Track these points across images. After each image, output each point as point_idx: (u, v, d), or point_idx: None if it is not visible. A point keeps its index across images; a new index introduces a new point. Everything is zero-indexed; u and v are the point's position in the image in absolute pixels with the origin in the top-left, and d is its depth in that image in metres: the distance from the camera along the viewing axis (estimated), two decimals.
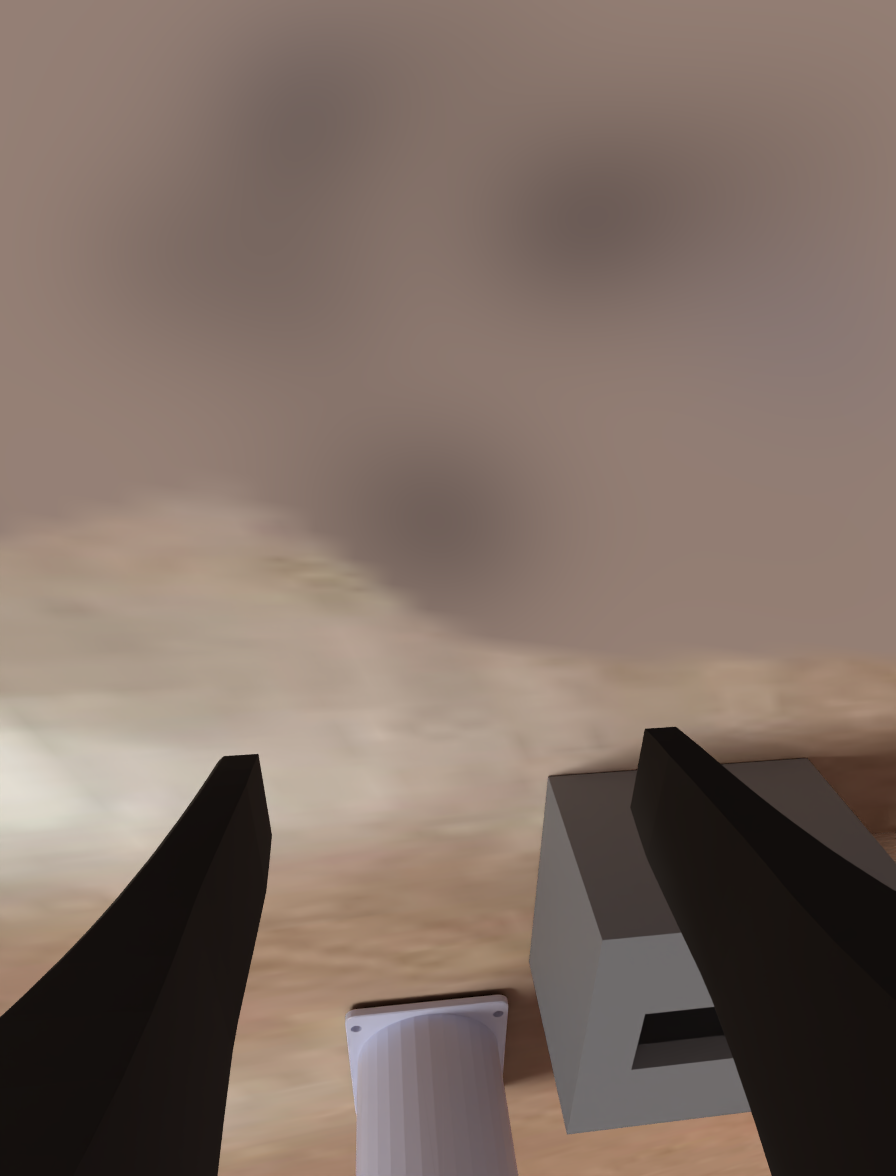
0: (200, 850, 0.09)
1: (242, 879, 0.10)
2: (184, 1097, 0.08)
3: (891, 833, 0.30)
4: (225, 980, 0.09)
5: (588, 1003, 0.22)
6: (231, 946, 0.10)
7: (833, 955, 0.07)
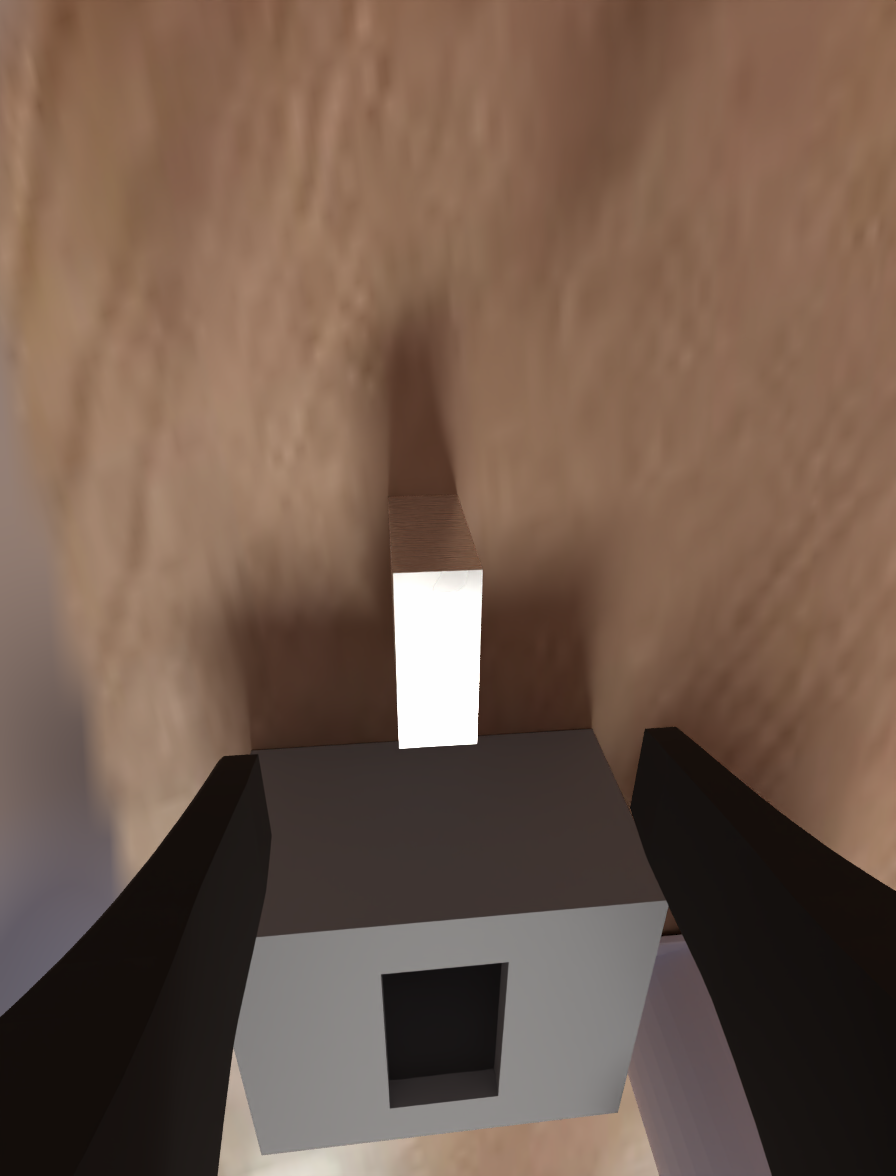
0: (200, 850, 0.09)
1: (242, 879, 0.10)
2: (184, 1097, 0.08)
3: None
4: (225, 980, 0.09)
5: None
6: (231, 946, 0.10)
7: (833, 955, 0.07)
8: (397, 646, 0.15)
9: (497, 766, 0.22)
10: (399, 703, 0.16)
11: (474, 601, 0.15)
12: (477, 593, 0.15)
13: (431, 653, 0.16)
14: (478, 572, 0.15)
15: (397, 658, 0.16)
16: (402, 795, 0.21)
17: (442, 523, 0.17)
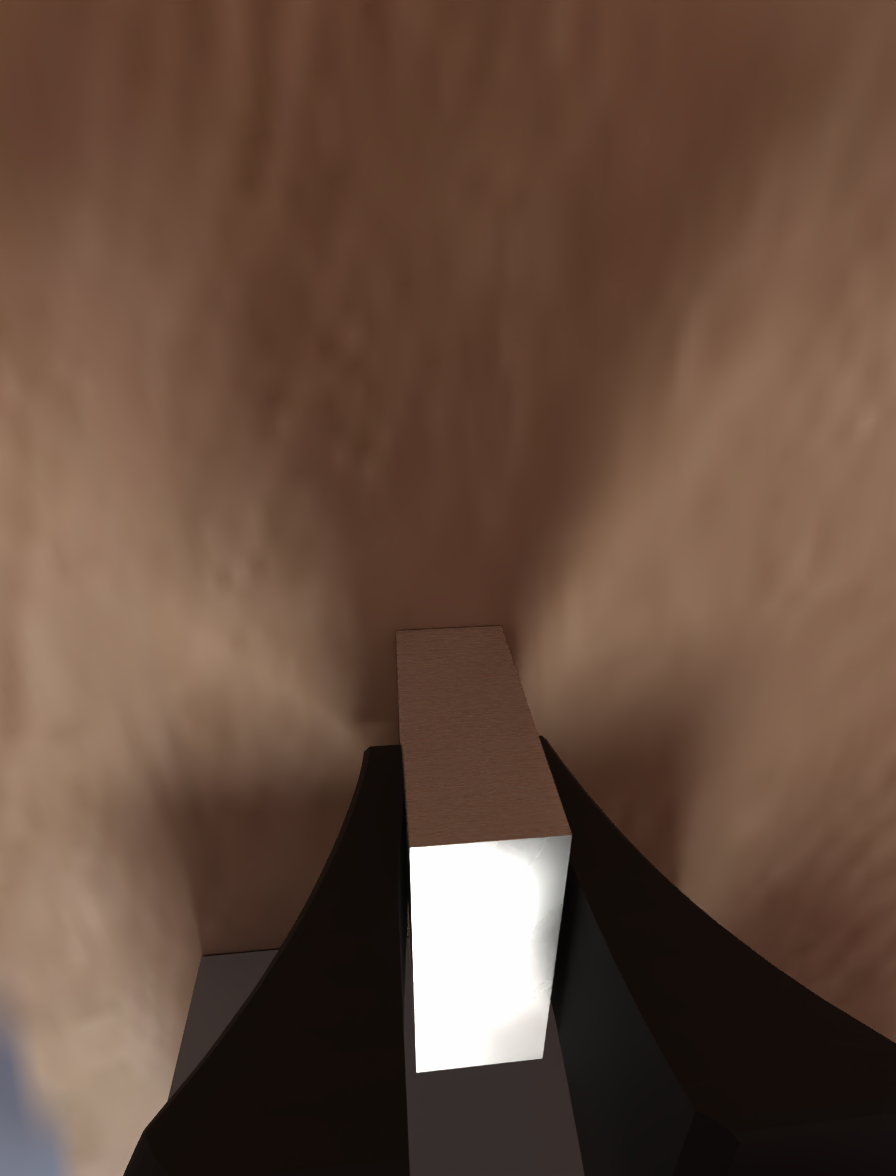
0: (384, 836, 0.09)
1: (404, 866, 0.11)
2: None
3: None
4: (402, 963, 0.10)
5: None
6: (402, 930, 0.10)
7: (615, 977, 0.07)
8: (415, 947, 0.09)
9: None
10: (417, 1018, 0.10)
11: (553, 880, 0.08)
12: (559, 868, 0.08)
13: (473, 953, 0.09)
14: (564, 839, 0.08)
15: (415, 963, 0.09)
16: None
17: (486, 699, 0.10)
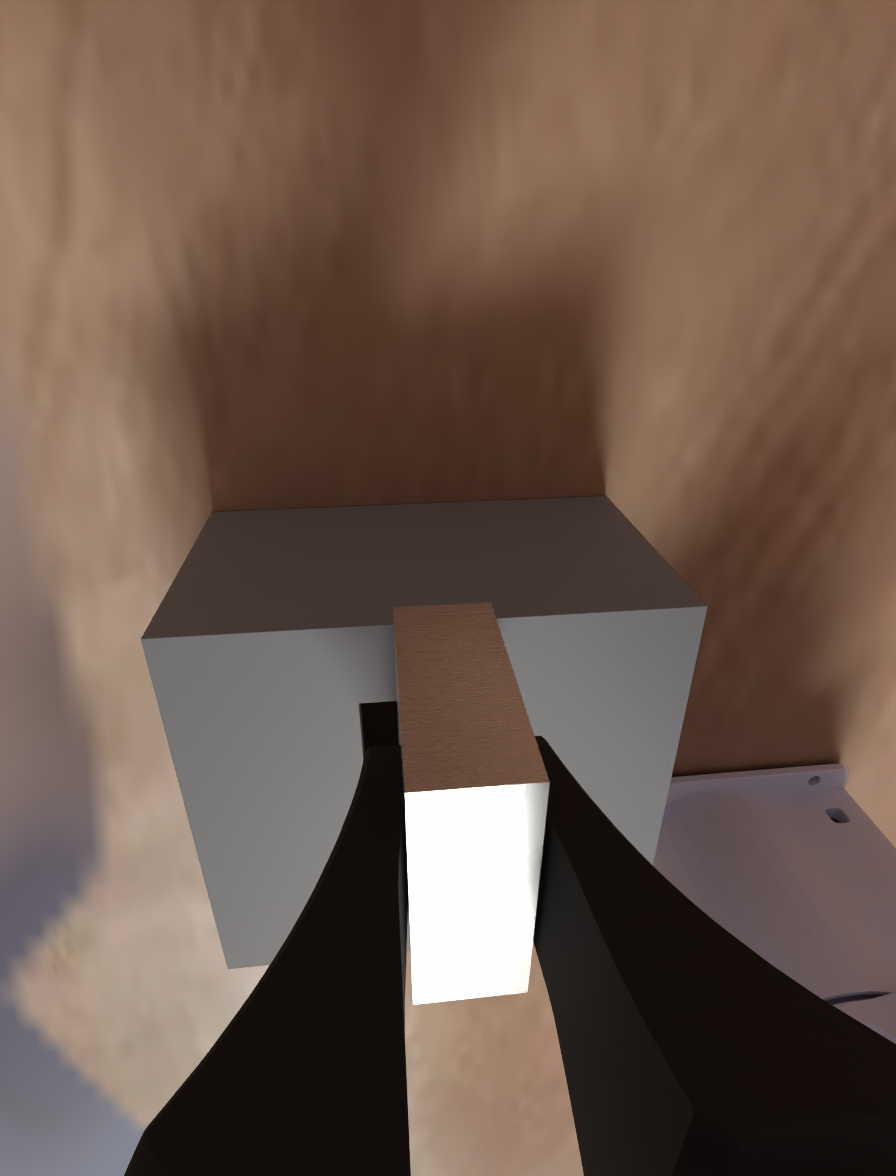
0: (385, 836, 0.09)
1: (404, 866, 0.11)
2: None
3: None
4: (402, 963, 0.10)
5: None
6: (403, 930, 0.10)
7: (614, 978, 0.07)
8: (411, 886, 0.10)
9: (497, 520, 0.19)
10: (413, 953, 0.11)
11: (533, 824, 0.09)
12: (539, 813, 0.09)
13: (463, 891, 0.10)
14: (542, 786, 0.09)
15: (411, 900, 0.10)
16: (386, 539, 0.18)
17: (476, 667, 0.11)
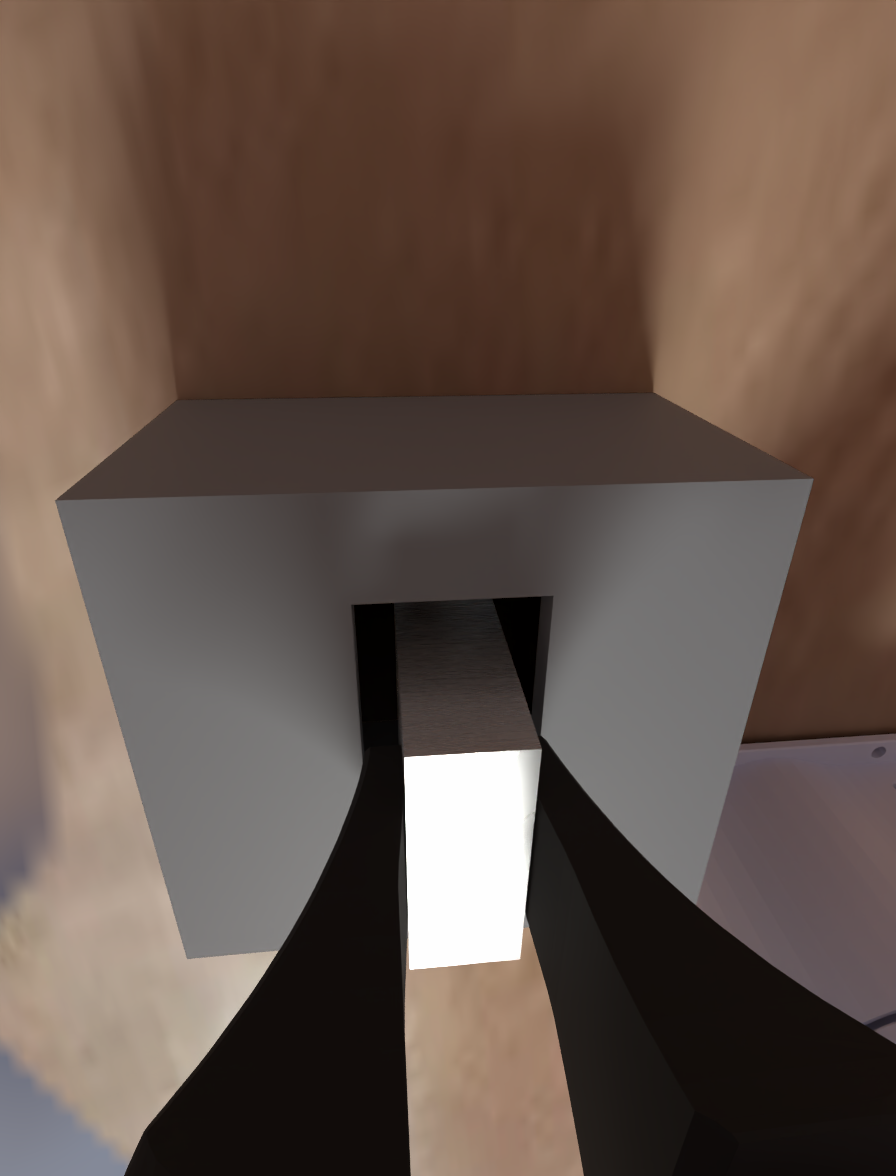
0: (385, 836, 0.09)
1: (404, 866, 0.11)
2: None
3: None
4: (402, 963, 0.10)
5: None
6: (403, 930, 0.10)
7: (614, 977, 0.07)
8: (409, 850, 0.10)
9: (525, 408, 0.15)
10: (411, 917, 0.11)
11: (526, 790, 0.10)
12: (531, 779, 0.10)
13: (458, 856, 0.10)
14: (535, 752, 0.10)
15: (409, 864, 0.10)
16: (389, 422, 0.14)
17: (473, 645, 0.12)
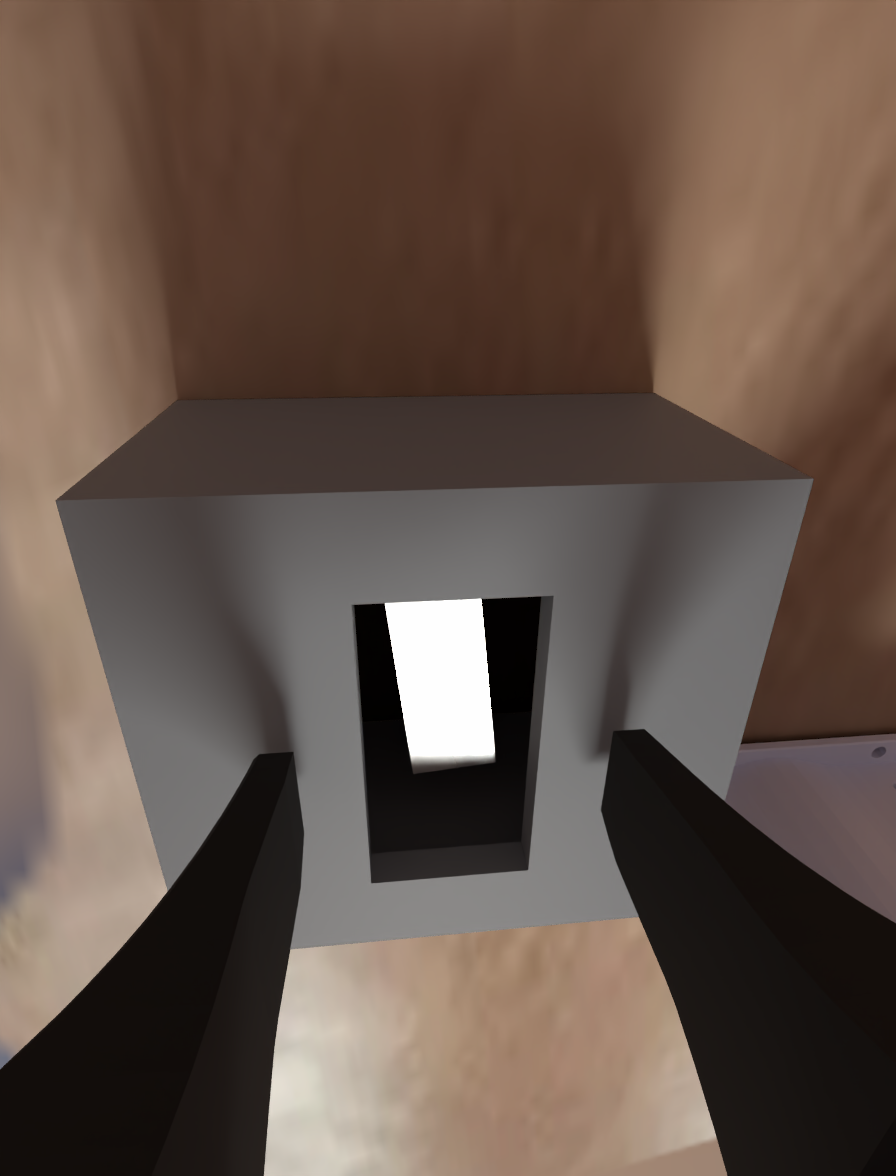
0: (245, 846, 0.09)
1: (281, 876, 0.10)
2: (238, 1091, 0.08)
3: None
4: (268, 976, 0.09)
5: None
6: (273, 942, 0.10)
7: (782, 961, 0.07)
8: (397, 669, 0.14)
9: (526, 408, 0.15)
10: (407, 727, 0.15)
11: (474, 614, 0.14)
12: (476, 605, 0.14)
13: (434, 673, 0.14)
14: None
15: (399, 681, 0.15)
16: (389, 422, 0.14)
17: None
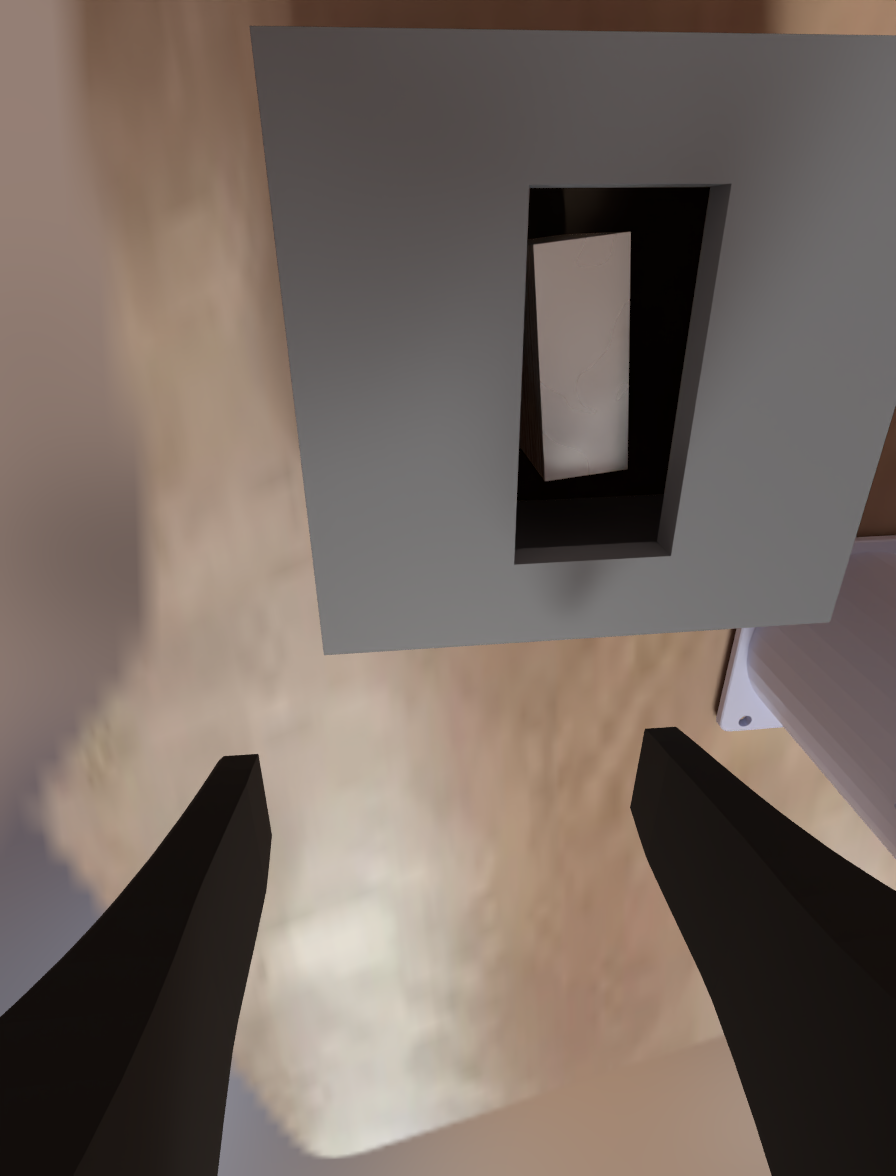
0: (200, 850, 0.09)
1: (242, 879, 0.10)
2: (184, 1097, 0.08)
3: None
4: (225, 980, 0.09)
5: None
6: (231, 946, 0.10)
7: (833, 955, 0.07)
8: (540, 344, 0.14)
9: None
10: (543, 421, 0.15)
11: (622, 276, 0.14)
12: (625, 265, 0.14)
13: (576, 351, 0.14)
14: (626, 235, 0.13)
15: (540, 360, 0.14)
16: None
17: (564, 236, 0.16)
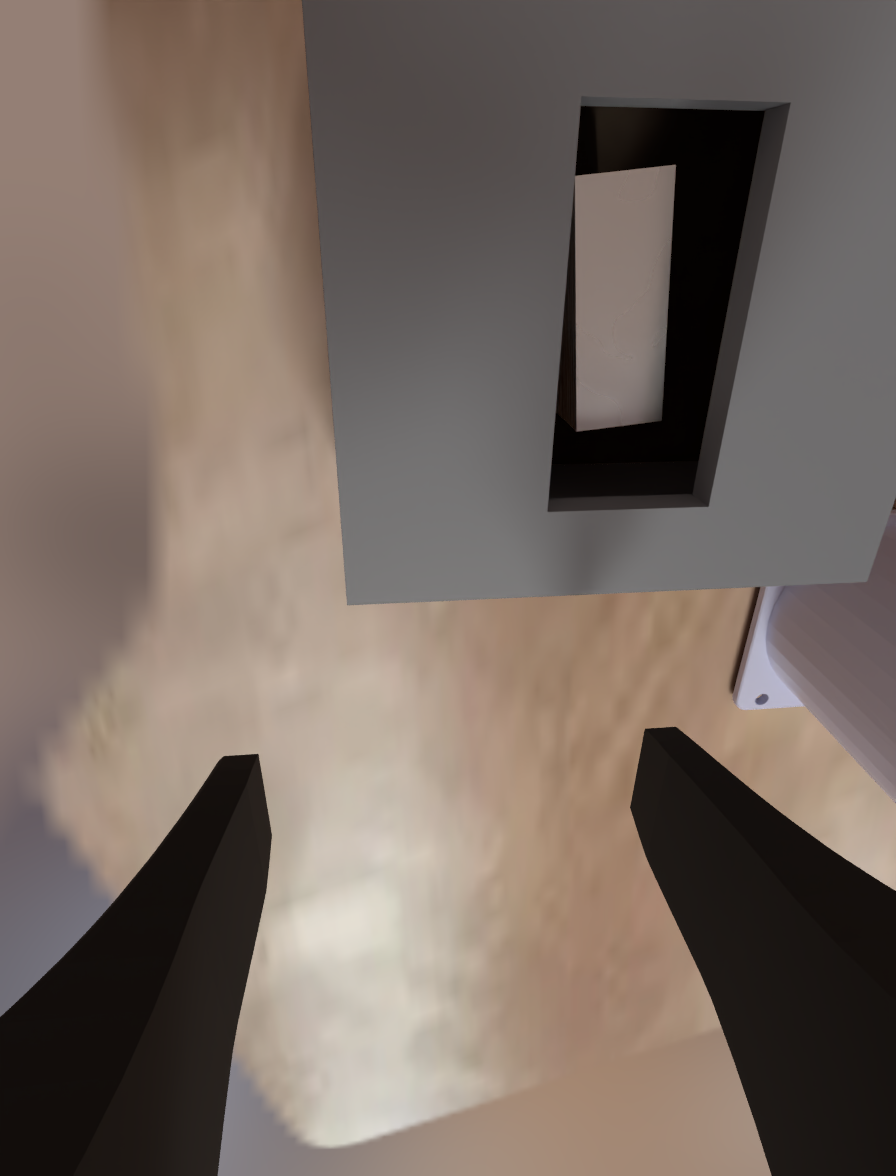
0: (200, 850, 0.09)
1: (242, 879, 0.10)
2: (184, 1097, 0.08)
3: None
4: (225, 980, 0.09)
5: None
6: (231, 946, 0.10)
7: (833, 955, 0.07)
8: (577, 284, 0.14)
9: None
10: (577, 367, 0.14)
11: (665, 212, 0.13)
12: (668, 200, 0.13)
13: (614, 292, 0.14)
14: (670, 168, 0.13)
15: (577, 301, 0.14)
16: None
17: None
